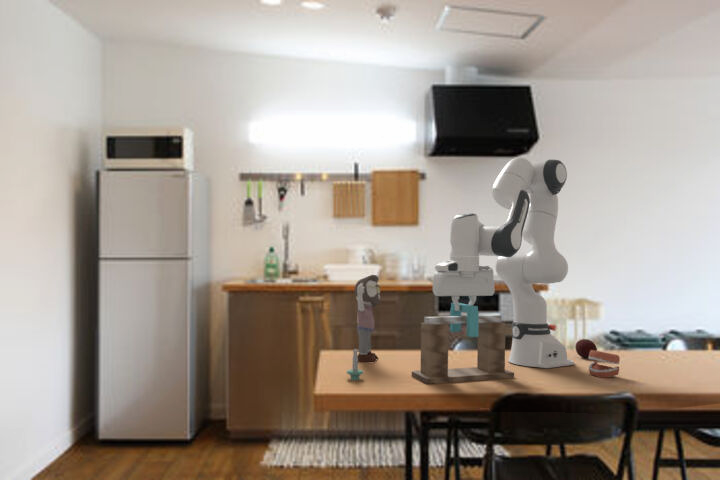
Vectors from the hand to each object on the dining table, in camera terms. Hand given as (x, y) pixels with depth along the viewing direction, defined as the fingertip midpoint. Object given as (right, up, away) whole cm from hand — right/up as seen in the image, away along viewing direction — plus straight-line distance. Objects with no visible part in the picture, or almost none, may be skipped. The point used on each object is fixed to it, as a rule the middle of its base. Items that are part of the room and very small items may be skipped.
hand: (463, 310), depth 158 cm
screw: (-33, -20, -6) cm, 39 cm away
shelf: (0, -20, -1) cm, 20 cm away
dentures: (+44, -22, +5) cm, 50 cm away
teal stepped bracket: (0, -7, 0) cm, 7 cm away
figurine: (-30, -21, +21) cm, 42 cm away
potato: (+52, -23, +33) cm, 66 cm away
